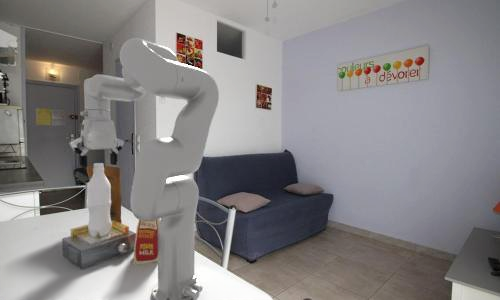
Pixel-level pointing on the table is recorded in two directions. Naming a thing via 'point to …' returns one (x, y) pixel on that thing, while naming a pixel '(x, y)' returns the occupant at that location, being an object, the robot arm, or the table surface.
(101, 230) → the water bottle
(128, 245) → the gray box with knob
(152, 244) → the milk carton
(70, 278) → the table surface
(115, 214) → the pancake mix bag
